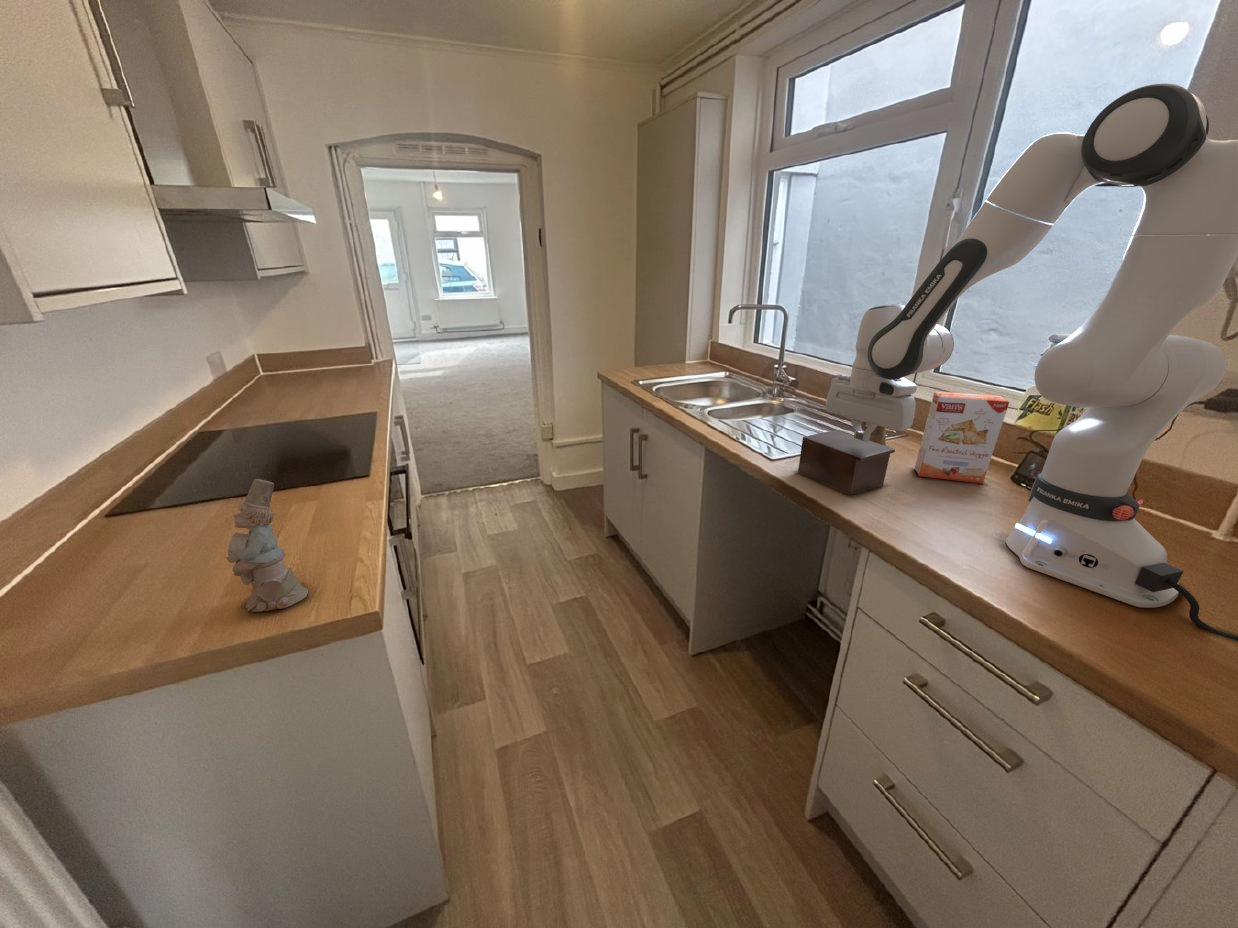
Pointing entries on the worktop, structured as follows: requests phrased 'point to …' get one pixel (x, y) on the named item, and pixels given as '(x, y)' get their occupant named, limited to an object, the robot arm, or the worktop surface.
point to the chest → (842, 469)
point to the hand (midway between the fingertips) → (861, 439)
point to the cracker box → (960, 436)
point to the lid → (848, 445)
